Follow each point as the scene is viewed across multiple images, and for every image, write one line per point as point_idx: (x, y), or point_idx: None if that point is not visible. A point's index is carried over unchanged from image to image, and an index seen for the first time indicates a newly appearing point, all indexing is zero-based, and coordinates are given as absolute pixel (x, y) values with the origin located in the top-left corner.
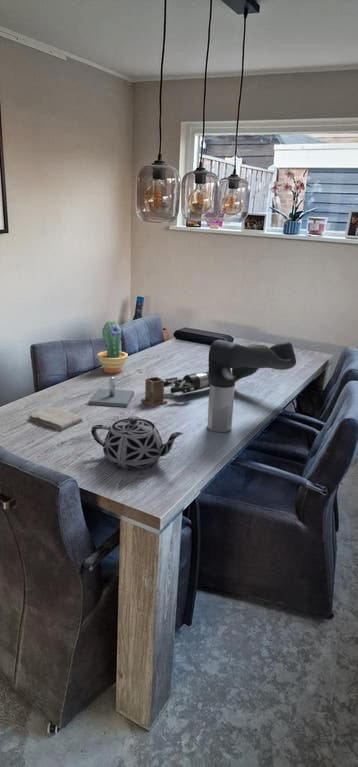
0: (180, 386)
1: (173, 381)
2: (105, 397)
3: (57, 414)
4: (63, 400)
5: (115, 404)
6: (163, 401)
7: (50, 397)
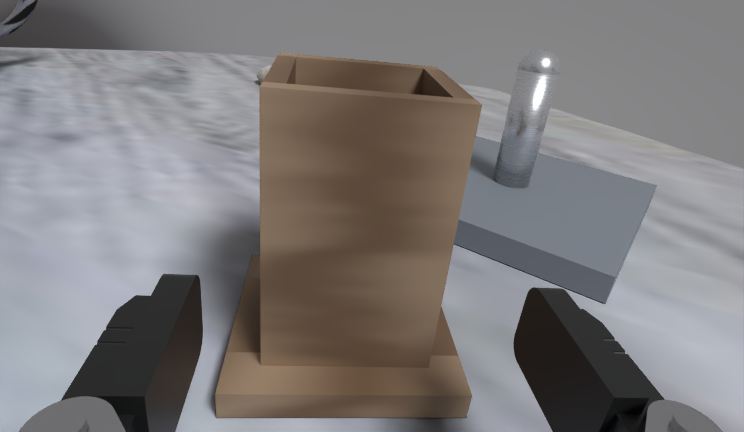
0: (46, 421)
1: None
2: (488, 162)
3: None
4: None
5: None
6: (238, 354)
7: (563, 126)
